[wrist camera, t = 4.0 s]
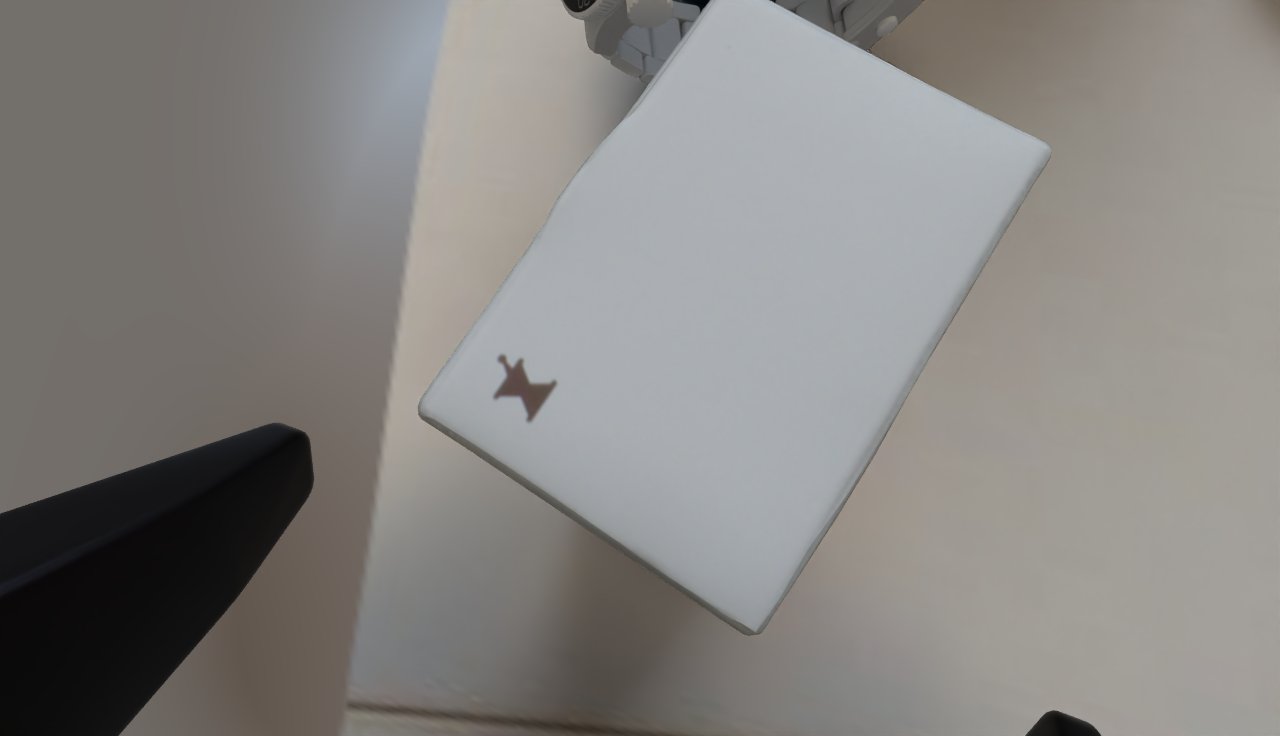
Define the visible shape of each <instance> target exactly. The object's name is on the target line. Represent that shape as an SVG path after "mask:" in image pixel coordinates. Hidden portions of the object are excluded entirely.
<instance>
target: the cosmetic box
mask: <svg viewBox="0 0 1280 736" xmlns="http://www.w3.org/2000/svg"><path fill="white" fill-rule="evenodd" d="M1050 156H1051V149H1050V147H1049V145H1048V144H1046V143H1045V142H1043V141H1041V140H1039V139H1037V138H1035V137H1033V136H1031V135H1029V134H1026V133H1024V132H1022V131H1020V130H1018V129H1016V128H1014V127H1012V126H1010V125H1008V124H1006V123H1004V122H1002V121H1000V120H998V119H996V118H994V117H992V116H990V115H988V114H986V113H984V112H982V111H980V110H978V109H976V108H974V107H972V106H970V105H968V104H966V103H964V102H962V101H960V100H958V99H956V98H954V97H952V96H950V95H948V94H946V93H944V92H942V91H940V90H938V89H936V88H934V87H932V86H930V85H928V84H926V83H924V82H922V81H920V80H919V79H917V78H915V77H913V76H911V75H909V74H907V73H905V72H904V71H902V70H900V69H898V68H896V67H894V66H892V65H891V64H889V63H887V62H885V61H883V60H881V59H879V58H878V57H876V56H874V55H872V54H870V53H868V52H866V51H864V50H862V49H860V48H859V47H857V46H855V45H853V44H851V43H849V42H847V41H845V40H843V39H841V38H839V37H837V36H836V35H834V34H832V33H830V32H828V31H826V30H824V29H822V28H820V27H818V26H817V25H815V24H813V23H811V22H809V21H807V20H805V19H803V18H802V17H800V16H798V15H796V14H794V13H792V12H790V11H789V10H787V9H785V8H783V7H781V6H779V5H777V4H775V3H774V2H772V1H770V0H710V1H709V3H708V4H707V5H706V7H705V8H704V9H703V11H702V12H701V14H700V15H699V16H698V18H697V19H696V20H695V22H694V23H693V25H692V26H691V27H690V29H689V30H688V31H687V33H686V34H685V36H684V37H683V38H682V40H681V41H680V42H679V44H678V45H677V47H676V48H675V49H674V51H673V52H672V53H671V55H670V56H669V58H668V59H667V60H666V62H665V63H664V64H663V66H662V67H661V68H660V70H659V71H658V72H657V74H656V75H655V76H654V78H653V79H652V80H651V82H650V83H649V85H648V86H647V88H646V89H645V90H644V92H643V93H642V95H641V96H640V97H639V99H638V100H637V101H636V103H635V104H634V106H633V107H632V108H631V110H630V111H629V112H628V114H627V115H626V116H625V118H624V119H623V120H622V121H621V122H620V123H619V124H618V125H617V126H616V128H615V129H614V130H613V131H612V132H611V133H610V134H609V135H608V136H607V137H606V138H605V139H604V140H603V141H602V142H601V143H600V145H599V146H598V147H597V148H596V149H595V151H594V152H593V153H592V154H591V156H590V157H589V158H588V159H587V161H586V162H585V163H584V164H583V165H582V167H581V168H580V169H579V171H578V172H577V173H576V175H575V176H574V177H573V179H572V180H571V181H570V183H569V184H568V185H567V187H566V188H565V189H564V191H563V192H562V194H561V195H560V196H559V198H558V199H557V201H556V203H555V204H554V206H553V208H552V210H551V212H550V214H549V216H548V218H547V220H546V222H545V224H544V225H543V227H542V228H541V230H540V231H539V233H538V234H537V236H536V237H535V239H534V240H533V242H532V243H531V245H530V246H529V248H528V249H527V250H526V252H525V253H524V255H523V256H522V257H521V259H520V260H519V261H518V263H517V264H516V265H515V267H514V268H513V270H512V271H511V272H510V274H509V275H508V276H507V278H506V279H505V281H504V282H503V284H502V285H501V287H500V288H499V290H498V291H497V293H496V294H495V296H494V297H493V299H492V300H491V301H490V303H489V304H488V306H487V307H486V308H485V310H484V311H483V312H482V314H481V315H480V317H479V318H478V319H477V321H476V322H475V323H474V325H473V326H472V328H471V329H470V330H469V332H468V333H467V334H466V336H465V337H464V339H463V340H462V341H461V343H460V344H459V346H458V347H457V348H456V350H455V351H454V353H453V354H452V355H451V357H450V358H449V360H448V361H447V362H446V364H445V365H444V367H443V368H442V369H441V371H440V372H439V374H438V375H437V376H436V378H435V379H434V380H433V382H432V383H431V385H430V386H429V387H428V389H427V390H426V392H425V393H424V394H423V396H422V397H421V399H420V402H419V405H418V413H419V416H420V417H421V419H422V420H424V421H425V422H427V423H428V424H430V425H431V426H433V427H435V428H436V429H438V430H439V431H441V432H442V433H444V434H445V435H447V436H448V437H450V438H451V439H453V440H455V441H456V442H458V443H459V444H461V445H462V446H464V447H465V448H467V449H468V450H470V451H471V452H473V453H474V454H476V455H477V456H479V457H480V458H482V459H483V460H485V461H486V462H488V463H489V464H491V465H492V466H494V467H495V468H497V469H498V470H500V471H501V472H503V473H504V474H506V475H507V476H509V477H510V478H512V479H513V480H514V481H516V482H517V483H519V484H520V485H522V486H523V487H525V488H526V489H528V490H529V491H531V492H532V493H534V494H535V495H537V496H538V497H540V498H541V499H543V500H544V501H546V502H547V503H549V504H550V505H552V506H553V507H555V508H556V509H558V510H559V511H561V512H562V513H564V514H565V515H566V516H568V517H569V518H571V519H572V520H574V521H575V522H577V523H578V524H580V525H581V526H583V527H584V528H586V529H587V530H589V531H590V532H592V533H593V534H595V535H596V536H598V537H599V538H601V539H602V540H604V541H605V542H607V543H608V544H610V545H611V546H613V547H614V548H616V549H617V550H618V551H620V552H621V553H623V554H624V555H626V556H627V557H629V558H630V559H632V560H633V561H635V562H636V563H638V564H639V565H641V566H642V567H644V568H645V569H647V570H648V571H650V572H651V573H653V574H654V575H656V576H657V577H659V578H660V579H662V580H663V581H665V582H666V583H668V584H669V585H671V586H672V587H674V588H675V589H677V590H678V591H680V592H681V593H683V594H684V595H686V596H687V597H689V598H690V599H692V600H693V601H695V602H696V603H698V604H699V605H701V606H702V607H704V608H705V609H707V610H708V611H709V612H711V613H712V614H714V615H715V616H717V617H718V618H720V619H721V620H723V621H724V622H726V623H727V624H729V625H730V626H732V627H733V628H735V629H736V630H738V631H740V632H741V633H743V634H745V635H748V636H751V635H757V634H760V633H761V632H762V631H763V630H764V629H765V627H766V626H767V624H768V622H769V621H770V619H771V618H772V616H773V614H774V613H775V611H776V610H777V608H778V607H779V605H780V604H781V602H782V600H783V599H784V597H785V596H786V594H787V593H788V591H789V590H790V588H791V587H792V585H793V584H794V582H795V581H796V579H797V578H798V576H799V574H800V573H801V571H802V570H803V568H804V567H805V565H806V564H807V562H808V561H809V559H810V558H811V556H812V555H813V553H814V551H815V550H816V548H817V547H818V545H819V544H820V542H821V541H822V539H823V538H824V536H825V534H826V533H827V531H828V530H829V528H830V527H831V525H832V524H833V522H834V521H835V519H836V518H837V516H838V514H839V513H840V511H841V509H842V508H843V506H844V504H845V503H846V501H847V500H848V498H849V496H850V495H851V493H852V491H853V490H854V488H855V486H856V485H857V483H858V482H859V480H860V478H861V477H862V475H863V473H864V472H865V470H866V468H867V467H868V465H869V464H870V462H871V460H872V459H873V457H874V455H875V454H876V452H877V450H878V448H879V447H880V445H881V443H882V441H883V439H884V437H885V436H886V434H887V432H888V430H889V428H890V427H891V425H892V423H893V421H894V419H895V418H896V416H897V414H898V412H899V410H900V409H901V407H902V405H903V403H904V402H905V400H906V398H907V396H908V395H909V393H910V391H911V389H912V388H913V386H914V384H915V382H916V381H917V379H918V377H919V375H920V374H921V372H922V370H923V368H924V367H925V365H926V363H927V361H928V360H929V358H930V356H931V355H932V353H933V351H934V350H935V348H936V346H937V345H938V343H939V341H940V340H941V338H942V336H943V335H944V333H945V331H946V330H947V328H948V326H949V325H950V323H951V321H952V320H953V318H954V316H955V315H956V313H957V311H958V310H959V308H960V306H961V305H962V303H963V301H964V300H965V298H966V296H967V295H968V293H969V291H970V290H971V288H972V286H973V285H974V283H975V281H976V280H977V278H978V276H979V275H980V273H981V271H982V269H983V268H984V266H985V264H986V263H987V261H988V259H989V258H990V256H991V254H992V253H993V251H994V249H995V248H996V246H997V244H998V243H999V241H1000V239H1001V238H1002V236H1003V234H1004V233H1005V231H1006V229H1007V228H1008V226H1009V224H1010V223H1011V221H1012V219H1013V218H1014V216H1015V214H1016V213H1017V211H1018V209H1019V208H1020V206H1021V204H1022V203H1023V201H1024V199H1025V198H1026V196H1027V194H1028V192H1029V191H1030V189H1031V187H1032V186H1033V184H1034V182H1035V181H1036V179H1037V178H1038V176H1039V175H1040V173H1041V172H1042V170H1043V169H1044V167H1045V165H1046V164H1047V162H1048V160H1049V159H1050Z"/></svg>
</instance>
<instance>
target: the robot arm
mask: <svg viewBox="0 0 1280 736" xmlns="http://www.w3.org/2000/svg"><path fill="white" fill-rule="evenodd" d="M313 483H314V473H313V463H312V454H311V445H310V439H309V437H308V435H307V434H306V433H305V432H303V431H301V430H299V429H296V428H293V427H290V426H288V425H285V424H282V423H272V424H267V425H264V426H261V427H259V428H255V429H252V430H250V431H246V432H244V433H240V434H237V435H234V436H231V437H228V438H226V439H222V440H219V441H217V442H214V443H210V444H208V445H205V446H202V447H199V448H196V449H193V450H190V451H187V452H184V453H181V454H178V455H175V456H172V457H169V458H166V459H163V460H160V461H157V462H154V463H151V464H148V465H145V466H142V467H139V468H136V469H133V470H130V471H127V472H124V473H121V474H118V475H115V476H112V477H109V478H106V479H103V480H100V481H97V482H94V483H91V484H88V485H85V486H82V487H79V488H76V489H73V490H70V491H67V492H64V493H61V494H58V495H55V496H52V497H49V498H46V499H43V500H40V501H37V502H34V503H31V504H28V505H25V506H22V507H19V508H16V509H13V510H10V511H7V512H4V513H1V514H0V736H119V735H120V733H121V732H122V731H123V730H124V729H125V728H126V726H127V725H128V724H129V723H130V722H131V721H132V720H133V718H134V717H135V716H136V715H137V714H138V713H139V711H140V710H141V709H142V708H143V707H144V706H145V704H146V703H147V702H148V701H149V700H150V699H151V698H152V696H153V695H154V694H155V693H156V692H157V690H158V689H159V688H160V687H161V686H162V685H163V684H164V682H165V681H166V680H167V679H168V678H169V677H170V675H171V674H172V673H173V672H174V671H175V670H176V668H177V667H178V666H179V665H180V664H181V663H182V662H183V660H184V659H185V658H186V657H187V656H188V655H189V654H190V652H191V651H192V650H193V649H194V647H196V645H197V644H198V643H199V642H200V641H201V640H202V638H203V637H204V636H205V635H206V634H207V633H208V632H209V630H210V629H211V628H212V627H213V626H214V625H215V623H216V622H217V621H218V620H219V619H220V618H221V617H222V615H223V614H224V613H225V612H226V611H227V609H228V608H229V607H230V606H231V604H232V603H233V602H234V601H235V600H236V598H237V597H238V596H239V595H240V593H241V592H242V591H243V589H244V588H245V587H246V585H247V584H248V583H249V581H250V580H251V578H252V577H253V575H254V574H255V573H256V571H257V570H258V568H259V567H260V566H261V564H262V562H263V561H264V560H265V558H266V557H267V556H268V554H269V553H270V551H271V550H272V548H273V547H274V546H275V544H276V543H277V541H278V540H279V538H280V537H281V536H282V534H283V533H284V531H285V530H286V529H287V527H288V526H289V524H290V523H291V521H292V520H293V519H294V517H295V516H296V514H297V513H298V511H299V510H300V509H301V507H302V506H303V504H304V503H305V501H306V500H307V498H308V497H309V495H310V493H311V490H312V488H313ZM1026 736H1101V735H1100V733H1099V732H1098V731H1097V730H1096V729H1095V728H1094V727H1093V726H1092V725H1091V724H1089V723H1088V722H1085V721H1083V720H1080V719H1078V718H1075V717H1072V716H1070V715H1067V714H1064V713H1062V712H1059V711H1050V712H1047V713H1045V714H1044V715H1043V716H1042V717H1041V718H1040V720H1039V721H1038V722H1037V723H1036V724H1035V725H1034V726H1033V728H1032V729H1031V730H1030V731H1029V732H1028V733H1027V734H1026Z"/></svg>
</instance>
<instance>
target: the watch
mask: <svg viewBox="0 0 1280 736" xmlns="http://www.w3.org/2000/svg"><path fill="white" fill-rule="evenodd" d="M709 1H710V0H562V3H563V5H564V7H565V9H566V11H568V13H569V14H570V15H571V16H572V17H574V18H577V19H581V20H585V32H586V39H587V43H588V46H589V48H590V49H591V50H592V51H593V52H594V53H597V54H601V55H602V56H603V57H604V58H606V59H607V60H611V64H612V65H614V66H615V67H617V68H618V69H620V70H621V71H623V72H625V73H627V74H629V75H631V76H633V77H639V78H640V80H641V81H643V82H646V83H650V82H651V80H652V79H653V78H654V76H655V75H656V74H657V72H658V71H659V70H660V68H661V67H662V66H663V64H664V63H665V62H666V60H667V59H668V58H669V56H670V55H671V53H672V52H673V51H674V49H675V48H676V47H677V45H678V44H679V42H680V41H681V40H682V38H683V37H684V36H685V34H686V33H687V31H688V30H689V29H690V27H691V26H692V25H693V23H694V22H695V20H696V19H697V18H698V16H699V15H700V14H701V12H702V11H703V9H704V8H705V7H706V5H707V4H708V3H709ZM770 1H772V2H774V3H775V4H777V5H779V6H781V7H783V8H785V9H787V10H789V11H790V12H792V13H794V14H796V15H798V16H800V17H802V18H803V19H805V20H807V21H809V22H811V23H813V24H815V25H817V26H818V27H820V28H822V29H824V30H826V31H828V32H830V33H832V34H834V35H836V36H837V37H839V38H841V39H843V40H845V41H847V42H849V43H851V44H853V45H855V46H857V47H859V48H860V49H862V50H864V51H866V50H867V49H868V48H870V47H871V46H872V45H874V44H875V43H876V42H877V41H879V40H880V39H881V38H882V37H884V36H885V35H887V34H889V33H891V32H892V31H893V30H894V29H895V28H896V27H897V25H898V24H899V23H900V22H901V21H903V20H904V19H905V18H906V17H907V16H908V15H909V14H910V13H912V12H913V11H914V10H915V9H916V8H917V7H918V6H919V5H920V4H921V3H922V2H923V1H924V0H770Z"/></svg>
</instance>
